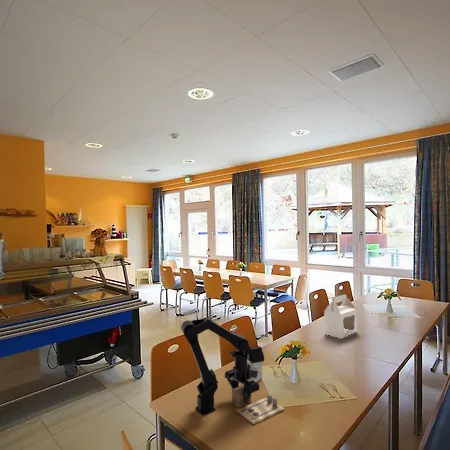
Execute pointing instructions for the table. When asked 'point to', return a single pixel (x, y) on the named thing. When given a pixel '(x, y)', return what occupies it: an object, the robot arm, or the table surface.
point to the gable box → (340, 317)
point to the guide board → (261, 409)
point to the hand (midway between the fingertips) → (241, 399)
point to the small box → (258, 367)
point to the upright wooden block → (239, 397)
